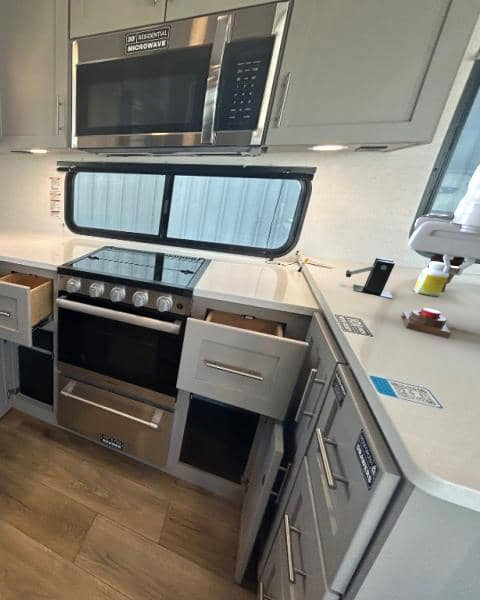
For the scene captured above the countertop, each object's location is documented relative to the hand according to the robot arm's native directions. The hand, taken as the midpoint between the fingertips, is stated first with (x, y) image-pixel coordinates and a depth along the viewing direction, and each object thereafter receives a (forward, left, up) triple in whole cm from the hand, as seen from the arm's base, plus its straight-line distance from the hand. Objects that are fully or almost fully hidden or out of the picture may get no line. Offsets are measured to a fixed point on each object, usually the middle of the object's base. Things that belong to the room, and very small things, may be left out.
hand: (451, 273), depth 83 cm
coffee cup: (-9, -49, -15) cm, 52 cm away
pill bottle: (-5, -36, -15) cm, 39 cm away
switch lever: (+13, -23, -8) cm, 28 cm away
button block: (0, 0, -15) cm, 15 cm away
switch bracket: (+10, -23, -15) cm, 29 cm away
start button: (0, 0, -12) cm, 12 cm away
